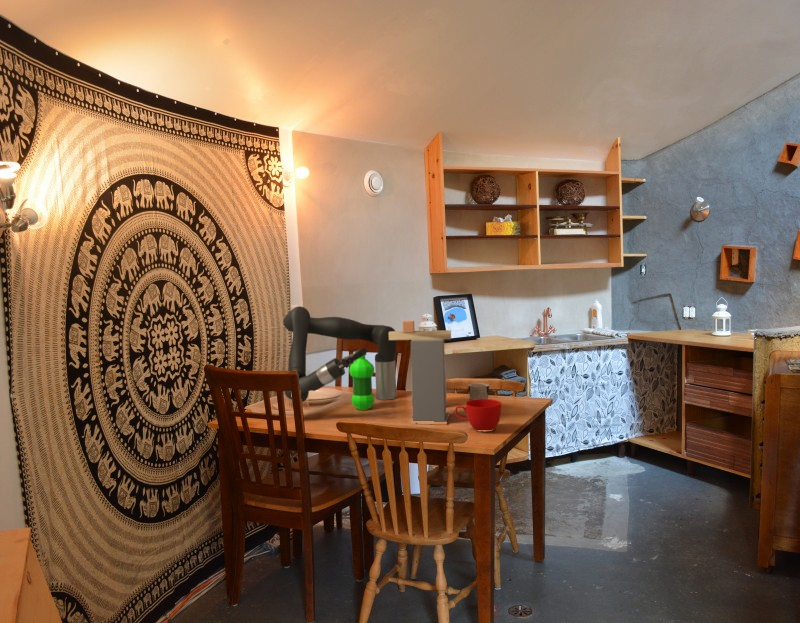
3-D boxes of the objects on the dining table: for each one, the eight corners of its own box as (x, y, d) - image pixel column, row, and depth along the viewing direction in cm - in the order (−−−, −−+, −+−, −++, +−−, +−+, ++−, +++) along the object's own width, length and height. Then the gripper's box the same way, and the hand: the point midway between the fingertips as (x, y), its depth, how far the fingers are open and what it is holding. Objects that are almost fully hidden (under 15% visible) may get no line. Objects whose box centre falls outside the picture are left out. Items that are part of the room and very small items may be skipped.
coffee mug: (491, 411, 256) (490, 386, 256) (470, 411, 256) (469, 387, 256) (486, 404, 268) (486, 381, 267) (466, 405, 268) (466, 382, 267)
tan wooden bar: (390, 338, 247) (389, 331, 246) (451, 337, 244) (450, 330, 243) (388, 340, 243) (388, 332, 243) (450, 339, 240) (450, 331, 240)
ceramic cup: (456, 424, 237) (456, 398, 237) (502, 425, 235) (501, 399, 234) (454, 434, 225) (453, 407, 224) (501, 435, 222) (501, 407, 221)
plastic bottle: (355, 412, 261) (353, 353, 259) (348, 407, 270) (346, 350, 268) (378, 409, 264) (376, 351, 262) (370, 404, 274) (368, 348, 272)
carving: (487, 416, 248) (487, 386, 247) (468, 416, 249) (468, 386, 248) (488, 412, 254) (487, 383, 253) (469, 412, 255) (469, 383, 254)
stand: (414, 415, 254) (411, 336, 251) (448, 415, 252) (446, 336, 249) (410, 424, 240) (407, 341, 237) (446, 424, 238) (444, 341, 235)
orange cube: (404, 331, 246) (404, 320, 246) (414, 330, 245) (414, 320, 245) (403, 332, 242) (402, 322, 242) (413, 332, 242) (413, 321, 241)
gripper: (321, 366, 242) (355, 345, 240) (329, 360, 256) (362, 340, 254) (331, 383, 242) (366, 362, 240) (339, 376, 256) (372, 356, 254)
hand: (364, 351), depth 247 cm, fingers open, 8 cm apart
